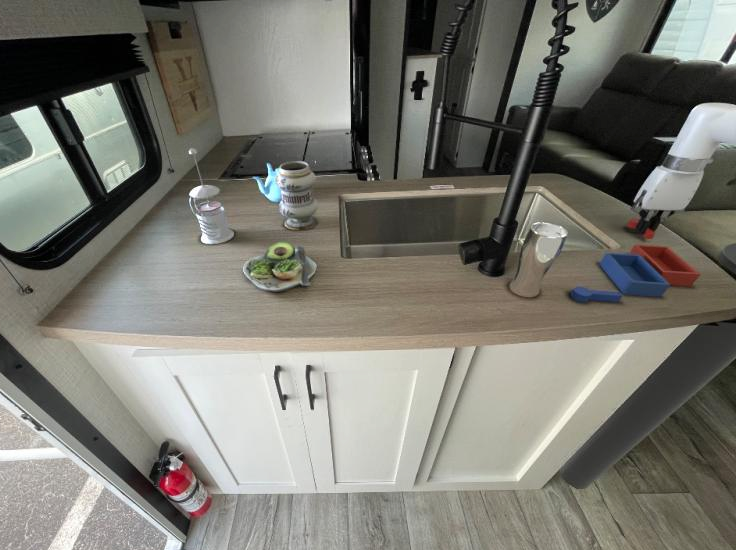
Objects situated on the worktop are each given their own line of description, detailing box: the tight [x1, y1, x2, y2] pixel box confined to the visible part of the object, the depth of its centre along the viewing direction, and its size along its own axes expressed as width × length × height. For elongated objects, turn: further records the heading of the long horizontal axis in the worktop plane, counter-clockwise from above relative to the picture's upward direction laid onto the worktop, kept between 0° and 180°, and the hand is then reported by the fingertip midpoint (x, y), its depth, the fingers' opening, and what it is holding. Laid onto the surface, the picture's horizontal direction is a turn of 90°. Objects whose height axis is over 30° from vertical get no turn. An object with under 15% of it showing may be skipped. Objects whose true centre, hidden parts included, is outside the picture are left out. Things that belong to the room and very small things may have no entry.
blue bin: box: [599, 252, 671, 298], centre depth 75 cm, size 12×7×3 cm, turn 170°
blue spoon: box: [569, 285, 623, 303], centre depth 70 cm, size 9×3×2 cm, turn 80°
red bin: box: [628, 244, 702, 287], centre depth 77 cm, size 12×7×3 cm, turn 170°
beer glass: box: [508, 221, 569, 298], centre depth 69 cm, size 7×7×15 cm
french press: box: [188, 147, 235, 245], centre depth 91 cm, size 10×12×25 cm
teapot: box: [252, 162, 282, 203], centre depth 118 cm, size 15×15×10 cm
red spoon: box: [626, 217, 656, 240], centre depth 90 cm, size 9×3×2 cm, turn 170°
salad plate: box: [242, 241, 317, 293], centre depth 80 cm, size 19×18×5 cm
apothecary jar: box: [275, 160, 319, 231], centre depth 98 cm, size 12×12×18 cm
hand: (643, 232), depth 89 cm, fingers closed on red spoon, 1 cm apart
